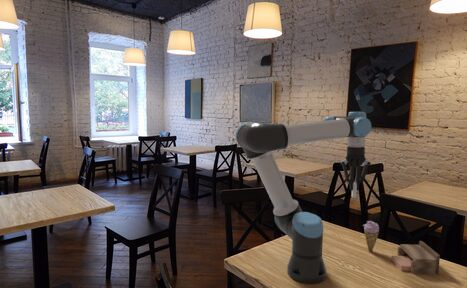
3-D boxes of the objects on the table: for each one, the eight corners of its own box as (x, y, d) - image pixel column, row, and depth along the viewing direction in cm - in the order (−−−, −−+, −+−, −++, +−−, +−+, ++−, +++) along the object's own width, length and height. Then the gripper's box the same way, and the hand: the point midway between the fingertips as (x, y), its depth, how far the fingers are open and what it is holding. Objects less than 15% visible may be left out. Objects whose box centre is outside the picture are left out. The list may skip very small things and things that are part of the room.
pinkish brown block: (400, 271, 124) (401, 266, 124) (391, 261, 133) (391, 255, 133) (431, 272, 123) (432, 267, 123) (420, 261, 132) (420, 256, 132)
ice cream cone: (359, 251, 142) (361, 219, 140) (364, 246, 146) (366, 216, 144) (374, 255, 137) (376, 223, 135) (379, 251, 142) (381, 219, 140)
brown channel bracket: (412, 273, 122) (413, 254, 121) (397, 257, 135) (398, 240, 134) (438, 274, 121) (439, 255, 120) (421, 258, 134) (422, 241, 134)
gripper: (342, 146, 135) (340, 198, 138) (373, 147, 133) (371, 200, 136) (339, 145, 142) (337, 194, 145) (368, 145, 140) (366, 195, 143)
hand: (353, 197), depth 140 cm, fingers closed
